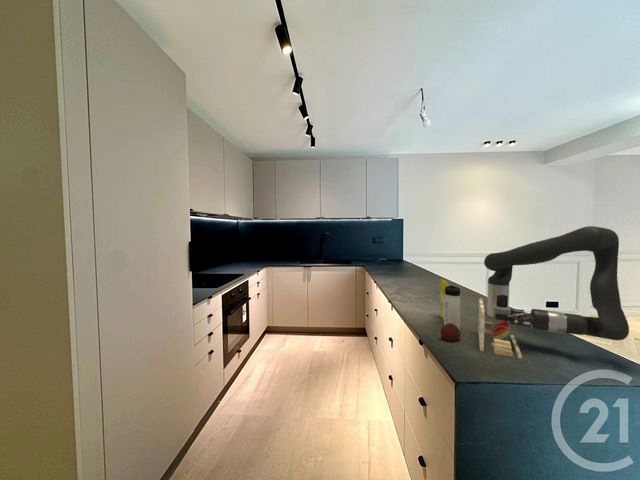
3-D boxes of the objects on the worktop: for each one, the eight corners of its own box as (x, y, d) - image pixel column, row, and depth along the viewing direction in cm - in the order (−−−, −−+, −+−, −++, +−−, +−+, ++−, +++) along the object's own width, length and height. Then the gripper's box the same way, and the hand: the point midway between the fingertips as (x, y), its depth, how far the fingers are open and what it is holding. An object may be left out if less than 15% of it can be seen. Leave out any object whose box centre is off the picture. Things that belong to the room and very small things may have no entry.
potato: (437, 341, 110) (437, 324, 109) (443, 335, 116) (444, 319, 116) (456, 346, 105) (457, 329, 104) (462, 339, 111) (462, 323, 111)
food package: (449, 326, 126) (450, 284, 125) (446, 326, 126) (447, 284, 125) (441, 315, 141) (442, 278, 140) (439, 315, 141) (439, 278, 140)
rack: (478, 334, 117) (479, 298, 116) (513, 340, 110) (514, 302, 110) (479, 353, 99) (481, 310, 99) (521, 361, 93) (523, 316, 93)
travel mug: (458, 328, 123) (459, 285, 122) (460, 334, 117) (461, 289, 116) (443, 327, 125) (444, 284, 124) (444, 332, 119) (445, 288, 118)
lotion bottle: (504, 348, 103) (505, 297, 102) (489, 342, 108) (490, 294, 107) (512, 345, 106) (514, 295, 105) (497, 340, 111) (498, 292, 110)
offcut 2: (491, 347, 103) (491, 342, 103) (508, 349, 101) (508, 345, 100) (495, 354, 97) (495, 349, 97) (512, 357, 95) (513, 352, 95)
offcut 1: (493, 343, 102) (494, 338, 102) (509, 346, 100) (510, 341, 99) (494, 349, 97) (494, 344, 97) (511, 352, 94) (511, 347, 94)
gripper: (543, 305, 105) (493, 300, 114) (553, 316, 93) (496, 309, 101) (542, 324, 106) (492, 317, 114) (552, 337, 93) (496, 328, 101)
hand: (494, 313), depth 107 cm, fingers open, 6 cm apart
